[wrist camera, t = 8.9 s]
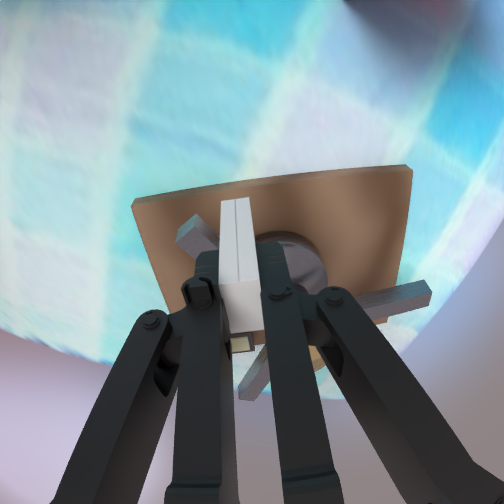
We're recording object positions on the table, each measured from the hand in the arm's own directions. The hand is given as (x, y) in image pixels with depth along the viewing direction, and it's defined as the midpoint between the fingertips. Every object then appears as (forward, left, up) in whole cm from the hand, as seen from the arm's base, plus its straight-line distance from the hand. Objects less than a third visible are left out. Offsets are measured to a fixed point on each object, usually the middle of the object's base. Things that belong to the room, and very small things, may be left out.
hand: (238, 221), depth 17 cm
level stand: (+3, -8, -6) cm, 10 cm away
